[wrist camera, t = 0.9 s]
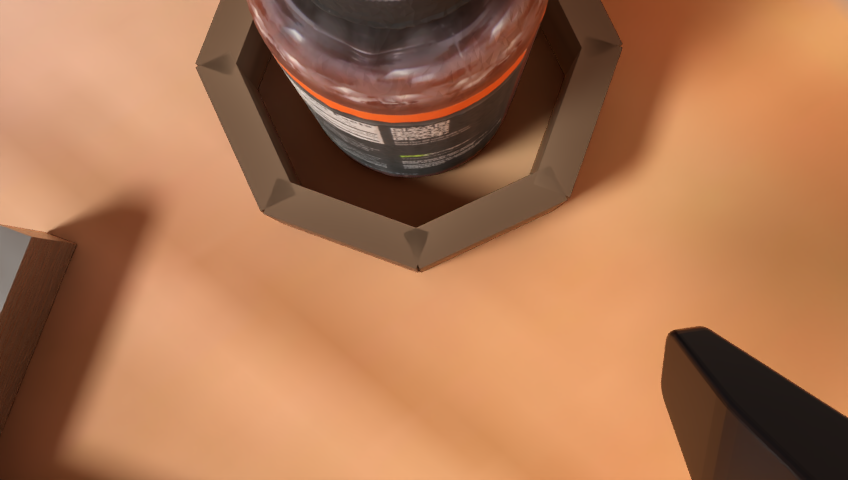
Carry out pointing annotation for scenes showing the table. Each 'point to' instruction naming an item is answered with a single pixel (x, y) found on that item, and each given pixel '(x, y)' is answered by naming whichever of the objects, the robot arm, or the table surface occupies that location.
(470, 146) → the supplement bottle
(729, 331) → the table surface
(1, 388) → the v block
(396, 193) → the table surface
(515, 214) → the walnut collar
